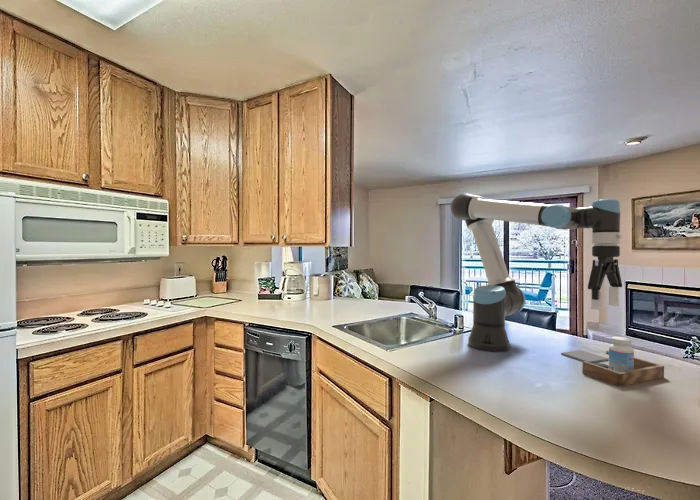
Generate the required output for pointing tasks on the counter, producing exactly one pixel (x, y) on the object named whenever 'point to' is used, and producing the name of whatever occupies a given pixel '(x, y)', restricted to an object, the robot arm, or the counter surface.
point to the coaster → (585, 356)
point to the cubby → (626, 372)
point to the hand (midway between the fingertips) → (605, 307)
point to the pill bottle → (621, 355)
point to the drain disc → (602, 365)
